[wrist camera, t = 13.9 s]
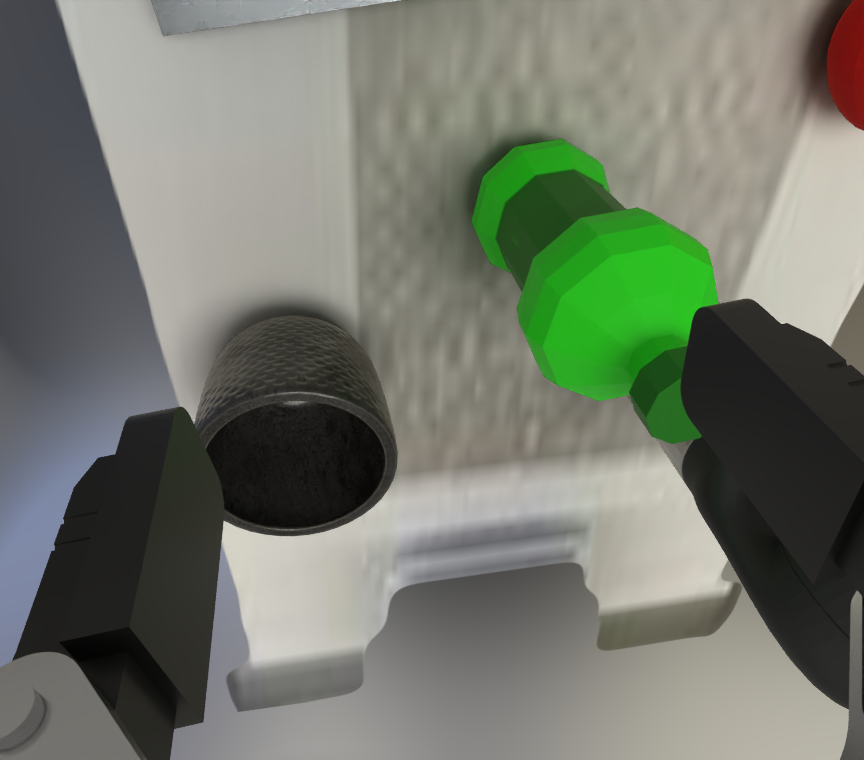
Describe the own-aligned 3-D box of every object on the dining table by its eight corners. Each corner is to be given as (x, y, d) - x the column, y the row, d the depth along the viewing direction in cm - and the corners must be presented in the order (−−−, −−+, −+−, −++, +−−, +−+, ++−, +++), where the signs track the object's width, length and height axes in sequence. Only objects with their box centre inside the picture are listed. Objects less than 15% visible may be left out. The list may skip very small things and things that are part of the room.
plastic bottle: (505, 93, 42) (688, 270, 23) (619, 163, 47) (852, 359, 28) (432, 221, 47) (533, 456, 28) (542, 272, 52) (695, 506, 32)
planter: (356, 430, 59) (371, 543, 49) (198, 413, 54) (177, 532, 44) (397, 302, 51) (424, 405, 41) (216, 270, 46) (196, 376, 36)
